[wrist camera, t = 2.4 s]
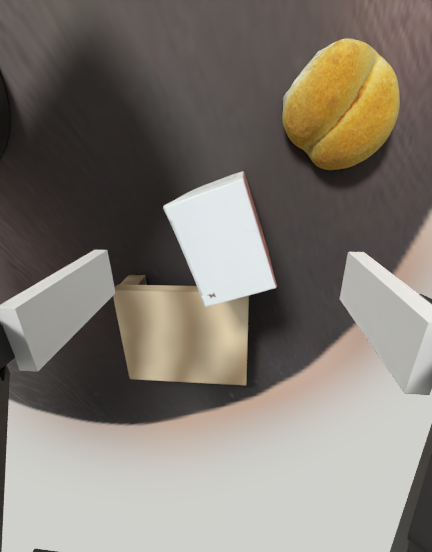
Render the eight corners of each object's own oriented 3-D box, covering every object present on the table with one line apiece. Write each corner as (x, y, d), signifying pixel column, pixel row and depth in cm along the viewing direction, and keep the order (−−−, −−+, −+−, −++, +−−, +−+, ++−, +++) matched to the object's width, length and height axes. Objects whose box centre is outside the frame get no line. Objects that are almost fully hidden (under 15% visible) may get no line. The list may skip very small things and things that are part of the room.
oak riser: (141, 356, 36) (129, 379, 32) (127, 274, 31) (111, 290, 27) (245, 361, 34) (246, 385, 31) (248, 276, 30) (248, 293, 26)
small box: (267, 246, 28) (279, 291, 19) (217, 261, 29) (204, 310, 20) (244, 168, 25) (245, 175, 16) (190, 189, 26) (160, 206, 17)
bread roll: (335, 185, 25) (351, 190, 22) (265, 119, 24) (269, 112, 20) (413, 104, 22) (446, 94, 19) (338, 22, 21) (358, -7, 17)
